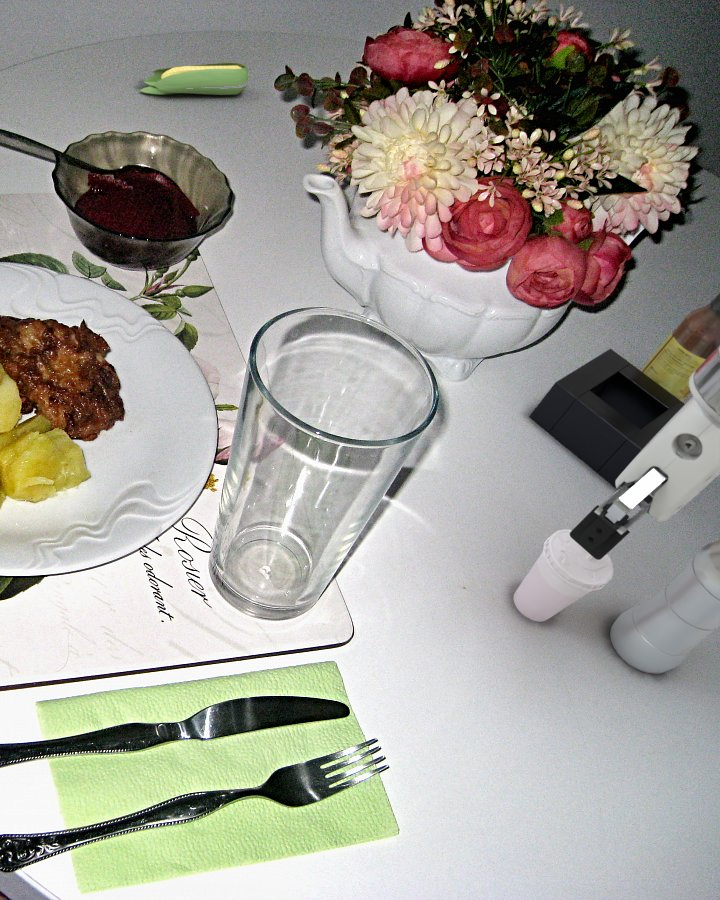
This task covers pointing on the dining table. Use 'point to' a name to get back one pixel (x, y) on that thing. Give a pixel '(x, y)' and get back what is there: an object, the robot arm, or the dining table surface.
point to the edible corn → (198, 79)
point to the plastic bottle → (672, 617)
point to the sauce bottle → (686, 350)
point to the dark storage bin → (606, 413)
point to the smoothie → (560, 577)
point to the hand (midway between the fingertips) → (612, 524)
